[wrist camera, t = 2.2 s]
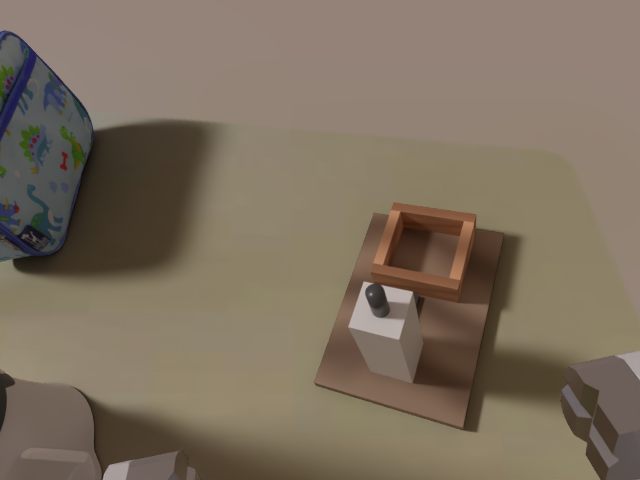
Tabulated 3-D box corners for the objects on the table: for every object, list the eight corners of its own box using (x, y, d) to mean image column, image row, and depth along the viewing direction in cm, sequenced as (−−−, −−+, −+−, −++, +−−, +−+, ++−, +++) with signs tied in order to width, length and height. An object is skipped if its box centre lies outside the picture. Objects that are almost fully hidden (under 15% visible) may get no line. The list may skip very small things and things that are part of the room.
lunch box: (61, 272, 65) (-84, 169, 48) (-8, 279, 68) (-169, 183, 51) (112, 126, 79) (13, 5, 62) (53, 136, 82) (-57, 22, 64)
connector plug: (412, 383, 46) (394, 323, 35) (371, 371, 48) (340, 311, 36) (423, 342, 48) (409, 273, 36) (382, 332, 49) (356, 263, 38)
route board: (462, 430, 44) (462, 419, 41) (316, 385, 49) (305, 372, 46) (503, 238, 53) (505, 216, 49) (375, 217, 58) (369, 197, 55)
